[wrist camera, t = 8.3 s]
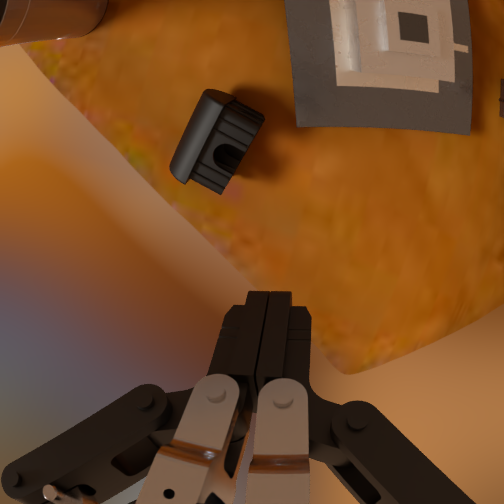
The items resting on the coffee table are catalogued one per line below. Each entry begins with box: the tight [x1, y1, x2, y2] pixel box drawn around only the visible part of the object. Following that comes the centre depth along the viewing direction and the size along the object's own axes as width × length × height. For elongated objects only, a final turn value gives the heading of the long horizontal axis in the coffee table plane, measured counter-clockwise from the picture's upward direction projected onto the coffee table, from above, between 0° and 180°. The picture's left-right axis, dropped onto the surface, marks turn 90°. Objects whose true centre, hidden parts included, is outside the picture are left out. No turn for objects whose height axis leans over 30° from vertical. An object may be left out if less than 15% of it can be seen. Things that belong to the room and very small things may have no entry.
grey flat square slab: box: [284, 0, 473, 136], centre depth 25 cm, size 20×20×2 cm
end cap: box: [169, 89, 265, 195], centre depth 34 cm, size 10×7×7 cm
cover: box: [344, 0, 455, 82], centre depth 20 cm, size 8×8×9 cm
